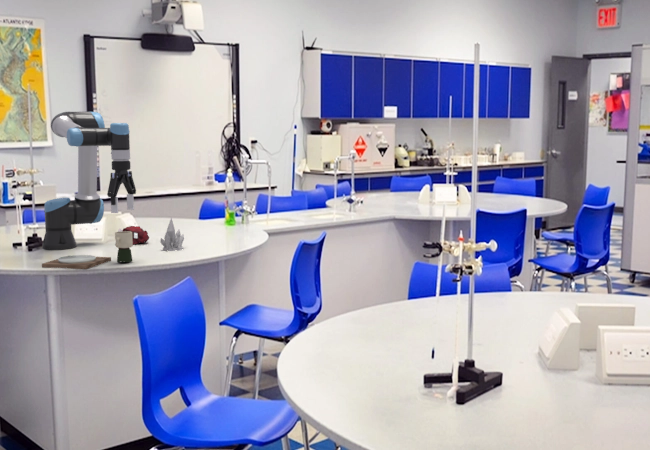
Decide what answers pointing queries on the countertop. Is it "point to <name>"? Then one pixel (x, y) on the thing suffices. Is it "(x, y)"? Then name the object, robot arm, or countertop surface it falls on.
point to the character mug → (124, 246)
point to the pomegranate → (137, 234)
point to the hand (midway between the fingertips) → (122, 211)
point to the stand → (76, 266)
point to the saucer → (77, 259)
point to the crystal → (172, 239)
